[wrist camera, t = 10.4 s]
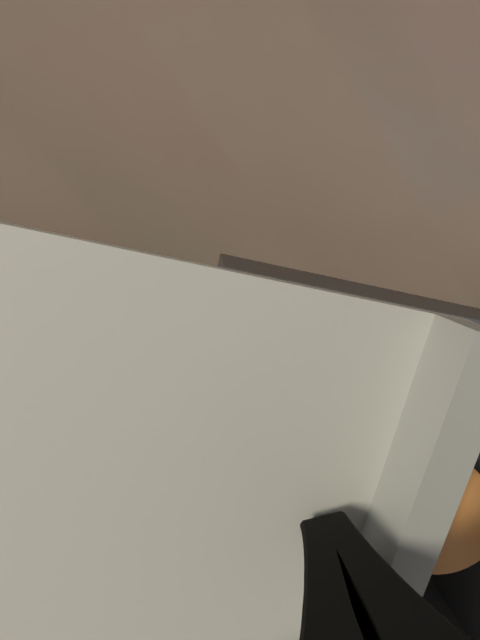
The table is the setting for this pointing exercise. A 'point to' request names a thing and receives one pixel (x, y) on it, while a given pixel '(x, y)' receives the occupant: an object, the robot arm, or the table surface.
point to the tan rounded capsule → (463, 532)
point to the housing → (476, 581)
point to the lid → (210, 439)
